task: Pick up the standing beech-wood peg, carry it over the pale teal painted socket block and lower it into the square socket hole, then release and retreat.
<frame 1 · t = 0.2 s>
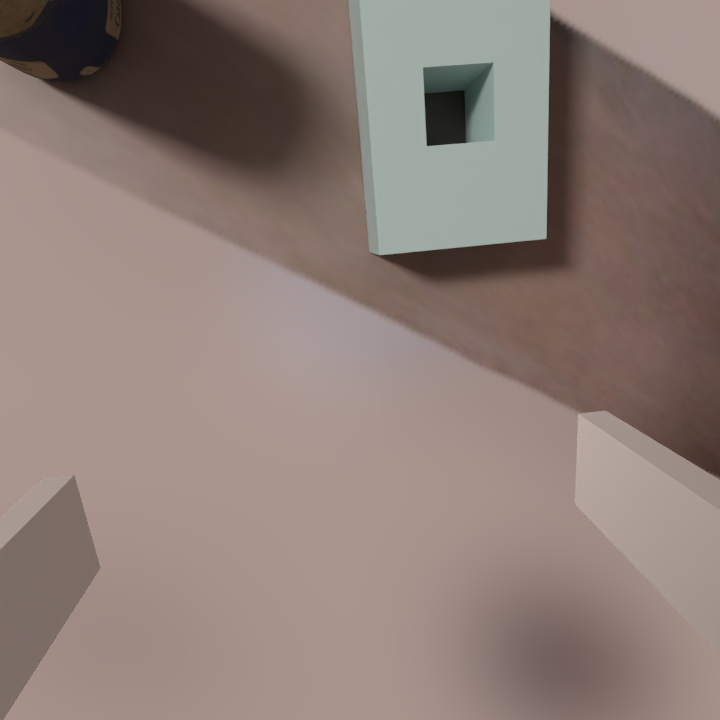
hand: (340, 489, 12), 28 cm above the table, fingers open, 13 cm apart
canister: (59, 13, 32), on the table
socket block: (436, 125, 36), on the table
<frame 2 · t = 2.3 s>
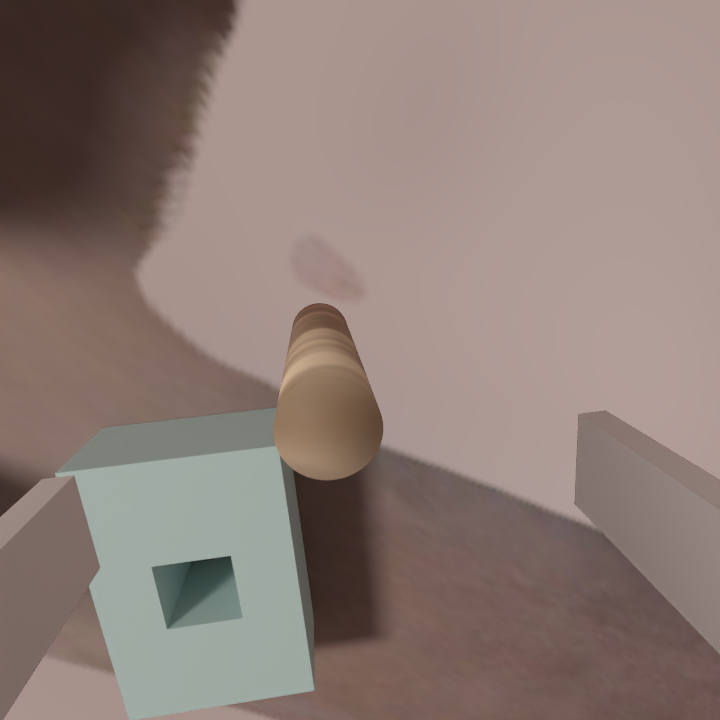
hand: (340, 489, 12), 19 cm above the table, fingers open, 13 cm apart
socket block: (217, 531, 34), on the table
peg: (319, 330, 31), on the table
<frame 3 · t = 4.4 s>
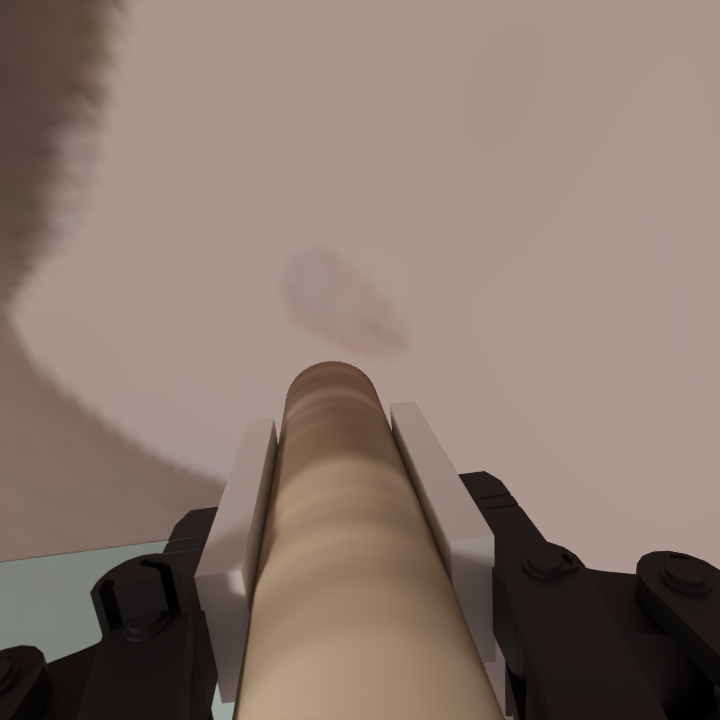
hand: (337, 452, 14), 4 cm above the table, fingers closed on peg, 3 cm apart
socket block: (168, 713, 21), on the table
peg: (332, 405, 18), on the table, touching gripper
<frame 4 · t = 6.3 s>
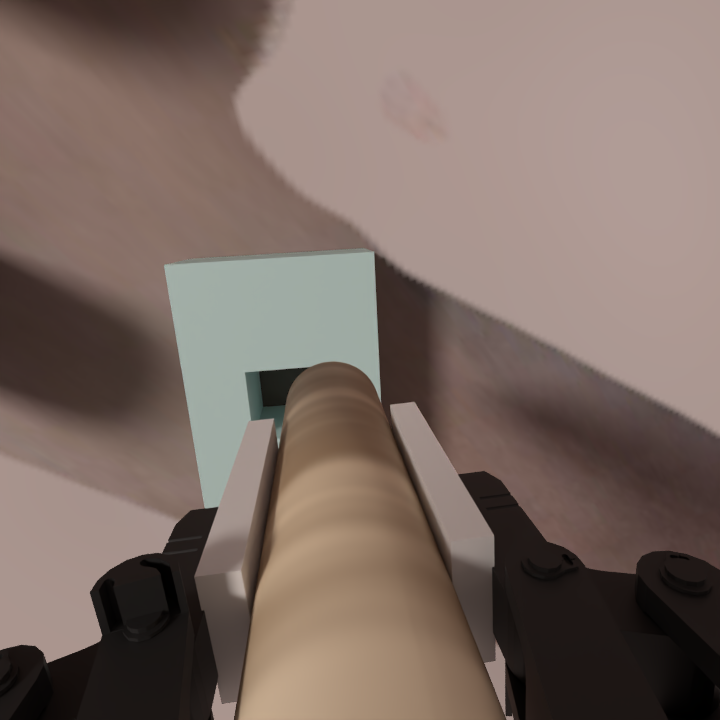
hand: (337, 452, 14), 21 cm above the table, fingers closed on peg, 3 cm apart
socket block: (290, 375, 35), on the table
peg: (332, 405, 18), point 17 cm above the table, touching gripper
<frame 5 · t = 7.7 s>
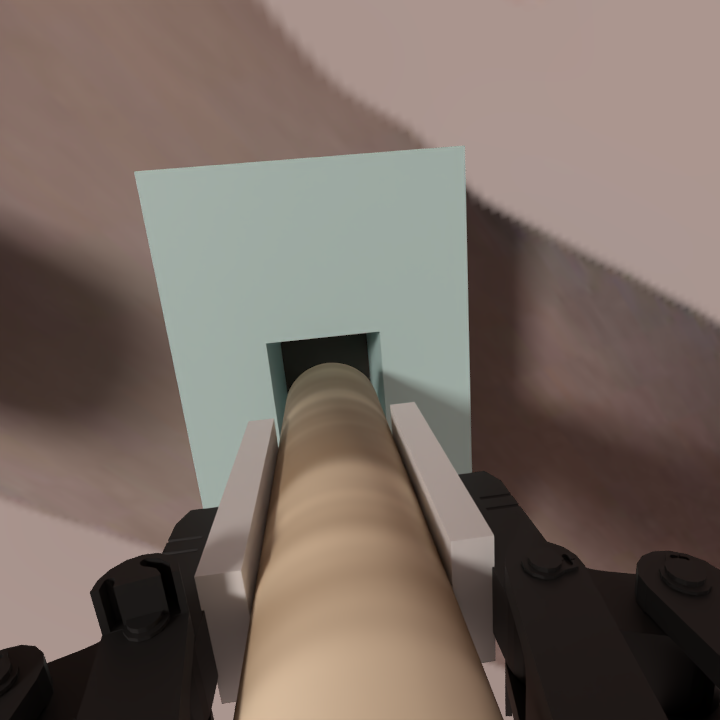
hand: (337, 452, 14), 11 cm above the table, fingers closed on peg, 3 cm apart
socket block: (325, 354, 25), on the table
peg: (332, 407, 18), point 7 cm above the table, touching gripper
when the fingers open (8 cm above the table, at t = 8.7 s): peg drops 3 cm, resting in socket block.
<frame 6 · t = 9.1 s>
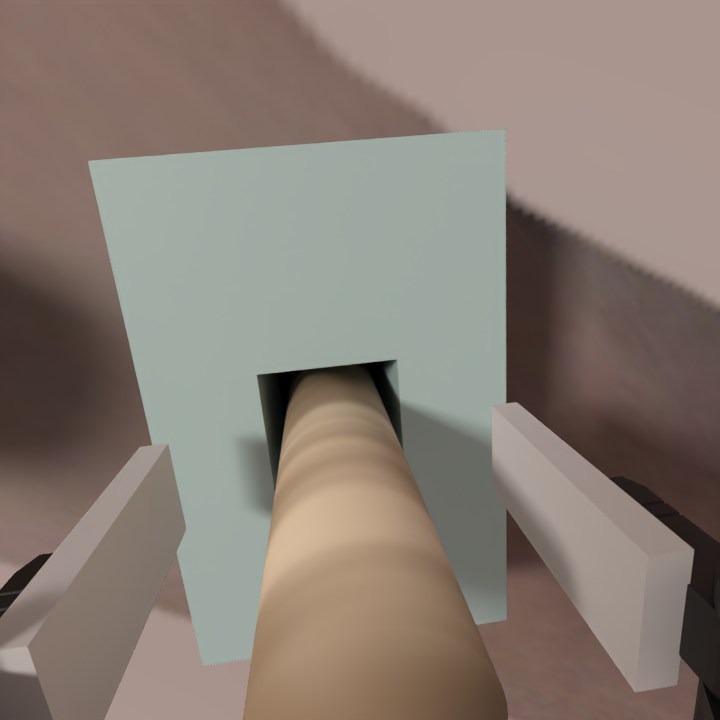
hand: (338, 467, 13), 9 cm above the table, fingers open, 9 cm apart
socket block: (329, 378, 22), on the table
peg: (330, 379, 22), resting in socket block
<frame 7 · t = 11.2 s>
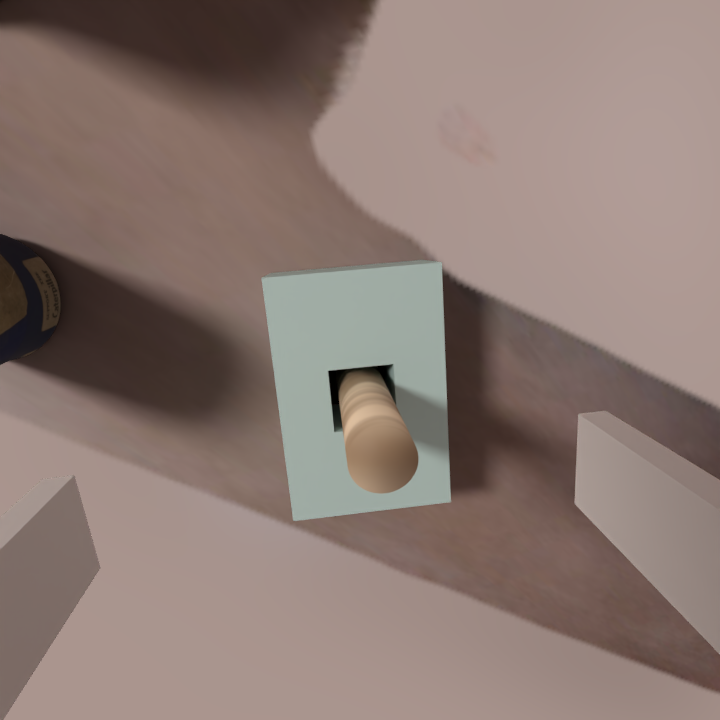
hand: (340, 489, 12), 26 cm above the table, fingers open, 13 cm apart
canister: (5, 295, 35), on the table
socket block: (356, 375, 39), on the table
peg: (357, 376, 39), resting in socket block
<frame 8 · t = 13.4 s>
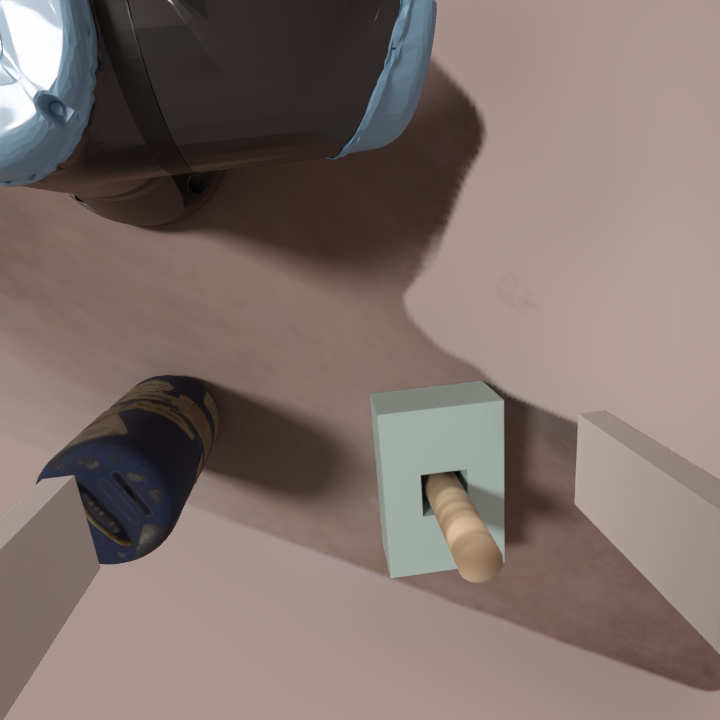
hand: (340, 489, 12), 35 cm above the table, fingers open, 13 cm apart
canister: (175, 415, 47), on the table
socket block: (430, 463, 51), on the table
peg: (430, 464, 51), resting in socket block
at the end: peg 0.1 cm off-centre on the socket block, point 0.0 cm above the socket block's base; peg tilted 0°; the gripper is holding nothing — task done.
